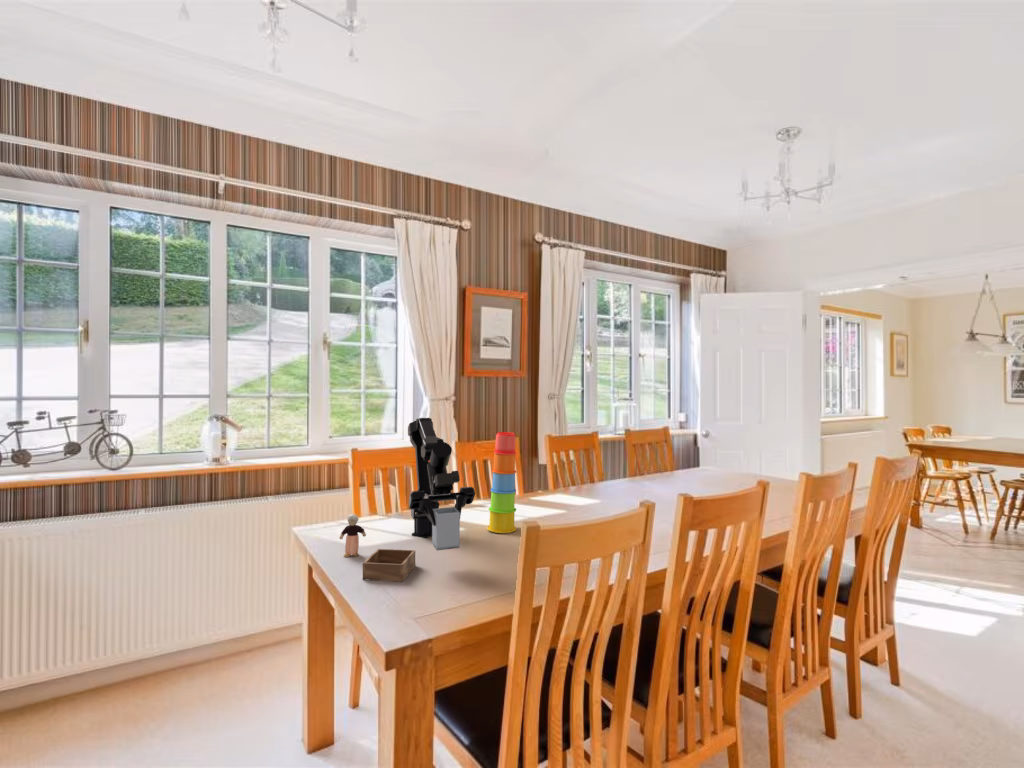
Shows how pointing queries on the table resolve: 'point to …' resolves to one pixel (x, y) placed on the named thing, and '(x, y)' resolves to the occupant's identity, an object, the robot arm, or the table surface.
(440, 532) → the grey upright prism
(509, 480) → the stacking cups
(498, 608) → the table surface
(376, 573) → the crate large
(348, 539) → the grandmother figurine
